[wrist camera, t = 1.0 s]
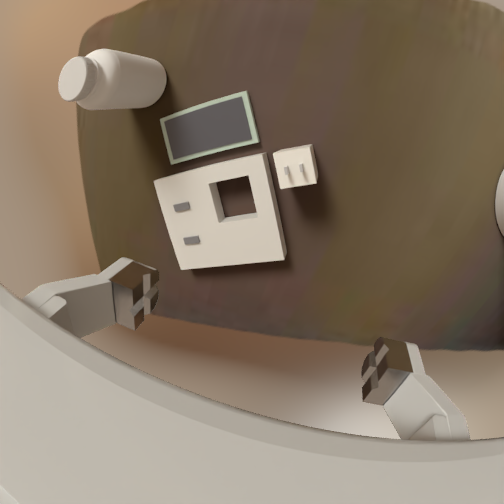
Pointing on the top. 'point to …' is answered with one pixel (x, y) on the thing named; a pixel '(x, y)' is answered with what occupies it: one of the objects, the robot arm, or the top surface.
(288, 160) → the charger
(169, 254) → the top surface
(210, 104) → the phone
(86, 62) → the pill bottle
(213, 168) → the outlet plate
